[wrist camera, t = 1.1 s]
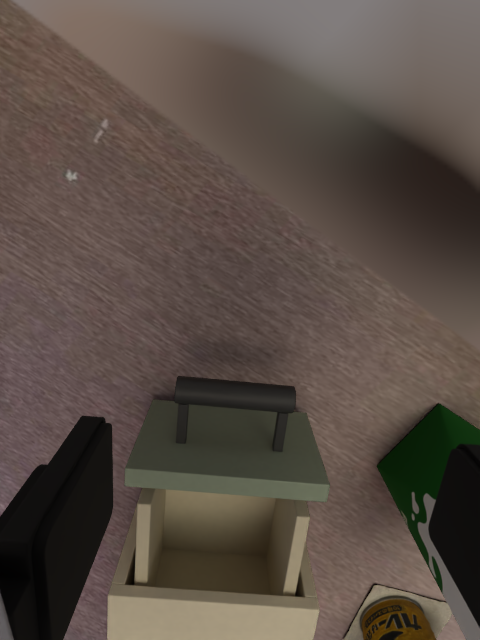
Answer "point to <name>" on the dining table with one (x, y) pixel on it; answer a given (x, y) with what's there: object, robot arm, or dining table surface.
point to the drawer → (224, 488)
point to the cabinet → (206, 608)
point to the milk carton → (429, 493)
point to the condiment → (398, 616)
